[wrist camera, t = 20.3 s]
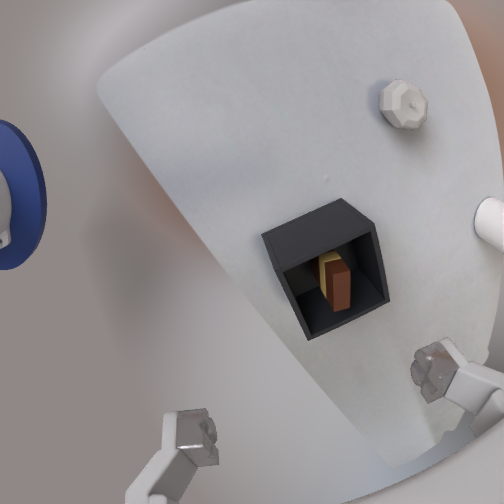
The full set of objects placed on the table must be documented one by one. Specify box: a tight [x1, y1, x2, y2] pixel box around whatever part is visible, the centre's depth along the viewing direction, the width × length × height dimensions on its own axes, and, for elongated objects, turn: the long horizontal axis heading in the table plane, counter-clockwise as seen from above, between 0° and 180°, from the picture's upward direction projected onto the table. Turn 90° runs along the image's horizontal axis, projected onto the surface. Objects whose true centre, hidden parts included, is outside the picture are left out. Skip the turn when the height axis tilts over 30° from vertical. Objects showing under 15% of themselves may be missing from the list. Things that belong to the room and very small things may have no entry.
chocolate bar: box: [310, 249, 350, 312], centre depth 41 cm, size 2×6×11 cm, turn 10°
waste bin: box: [261, 198, 390, 341], centre depth 42 cm, size 14×14×11 cm
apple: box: [379, 79, 428, 130], centre depth 34 cm, size 8×8×7 cm
